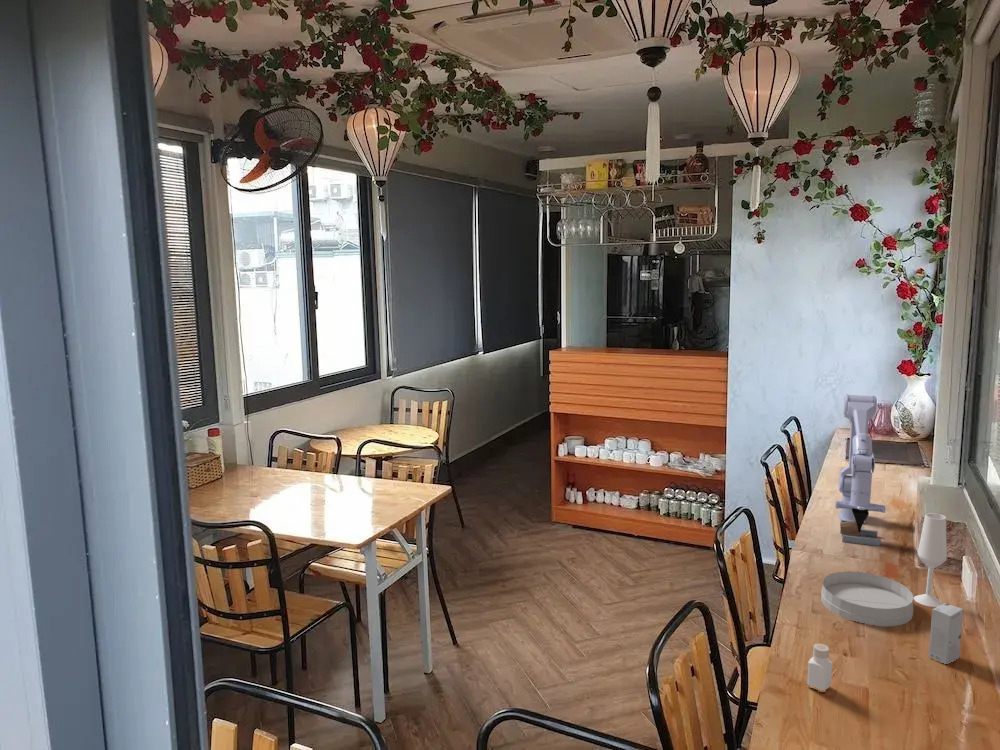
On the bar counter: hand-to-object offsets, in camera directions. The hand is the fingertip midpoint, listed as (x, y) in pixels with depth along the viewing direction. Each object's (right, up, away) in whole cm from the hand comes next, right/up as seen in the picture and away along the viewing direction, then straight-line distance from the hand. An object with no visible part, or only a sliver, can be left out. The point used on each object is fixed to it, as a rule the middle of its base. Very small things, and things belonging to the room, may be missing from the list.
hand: (858, 531), depth 240 cm
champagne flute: (-1, -10, -41) cm, 43 cm away
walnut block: (-2, -3, +1) cm, 3 cm away
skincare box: (-14, -15, -68) cm, 71 cm away
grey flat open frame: (+1, -3, +1) cm, 3 cm away
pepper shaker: (-47, -18, -79) cm, 94 cm away
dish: (-19, -11, -43) cm, 49 cm away
